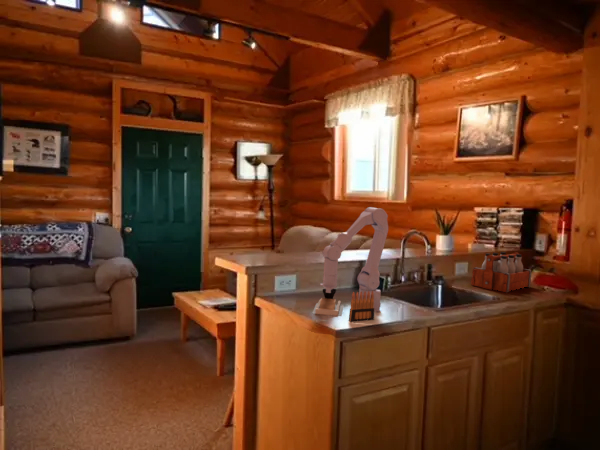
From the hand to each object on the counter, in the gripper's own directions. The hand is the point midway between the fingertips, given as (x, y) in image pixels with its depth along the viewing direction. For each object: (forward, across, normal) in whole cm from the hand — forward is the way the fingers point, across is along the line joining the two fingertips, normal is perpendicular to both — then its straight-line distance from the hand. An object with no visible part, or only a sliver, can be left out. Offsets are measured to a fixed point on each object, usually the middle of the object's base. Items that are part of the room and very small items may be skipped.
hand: (328, 306), depth 201 cm
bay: (+2, 0, 0) cm, 2 cm away
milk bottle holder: (+2, -88, +93) cm, 128 cm away
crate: (+1, +4, 0) cm, 5 cm away
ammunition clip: (+2, +12, +14) cm, 18 cm away
